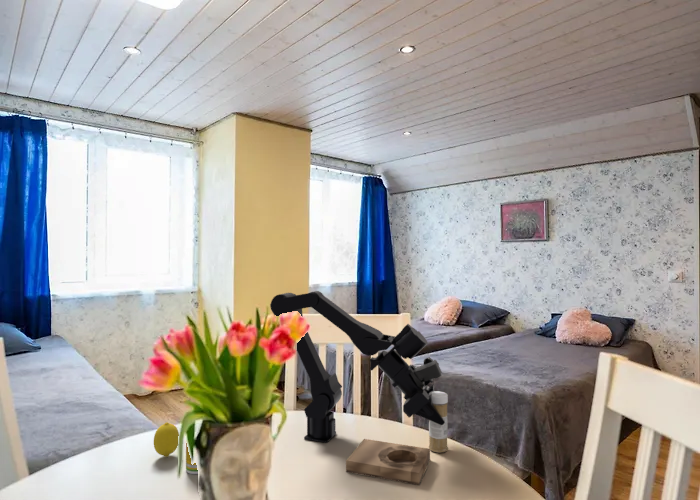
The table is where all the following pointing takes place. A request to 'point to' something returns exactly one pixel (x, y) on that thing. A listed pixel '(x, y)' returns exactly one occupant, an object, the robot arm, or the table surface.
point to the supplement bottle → (189, 467)
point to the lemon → (166, 439)
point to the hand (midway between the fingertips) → (444, 420)
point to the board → (389, 461)
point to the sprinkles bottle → (436, 430)
